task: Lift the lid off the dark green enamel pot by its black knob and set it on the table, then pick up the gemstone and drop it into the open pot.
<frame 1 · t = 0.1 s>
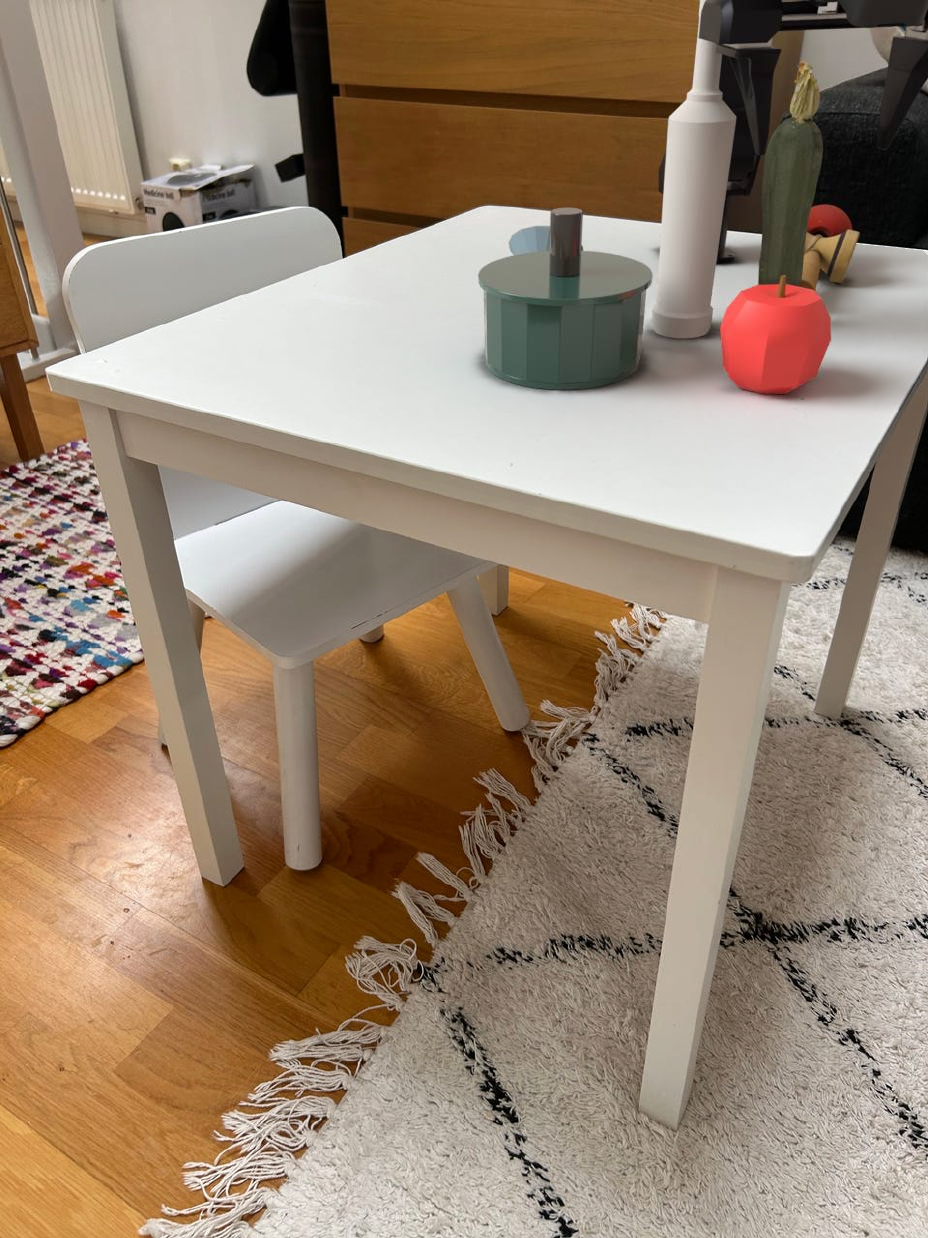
hand: (821, 151, 71), 15 cm above the table, tool pointing down, fingers open, 9 cm apart
gemstone: (545, 278, 98), on the table
lid: (564, 279, 74), point 6 cm above the table, touching pot
pot: (561, 360, 78), on the table
apple: (766, 385, 73), on the table
bottle: (680, 331, 84), on the table
kendama: (808, 286, 93), on the table
vegetable: (767, 327, 84), on the table
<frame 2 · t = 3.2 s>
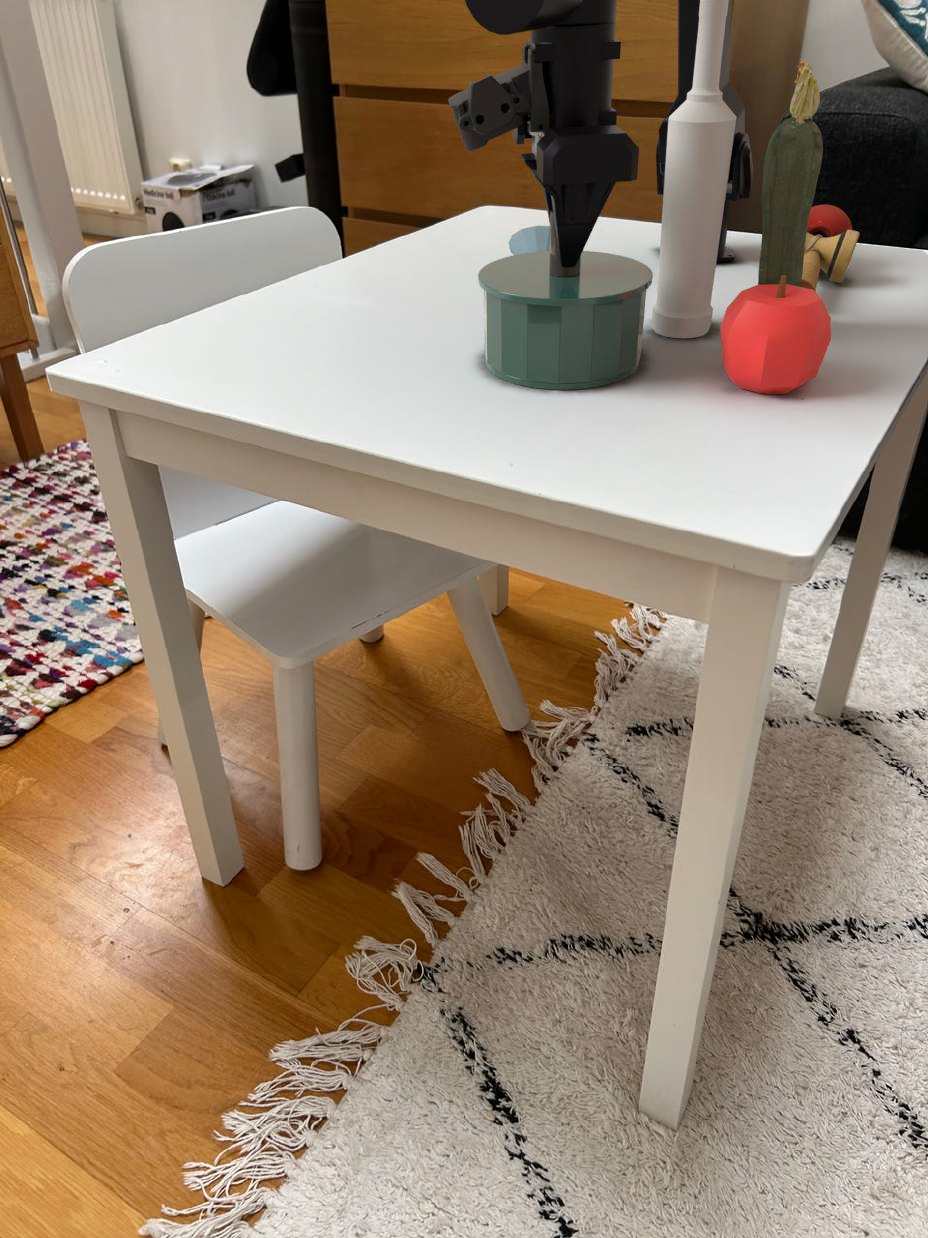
hand: (565, 261, 74), 8 cm above the table, tool pointing down, fingers closed on lid, 2 cm apart
lid: (564, 279, 74), point 7 cm above the table, touching gripper, pot
everything else where it was.
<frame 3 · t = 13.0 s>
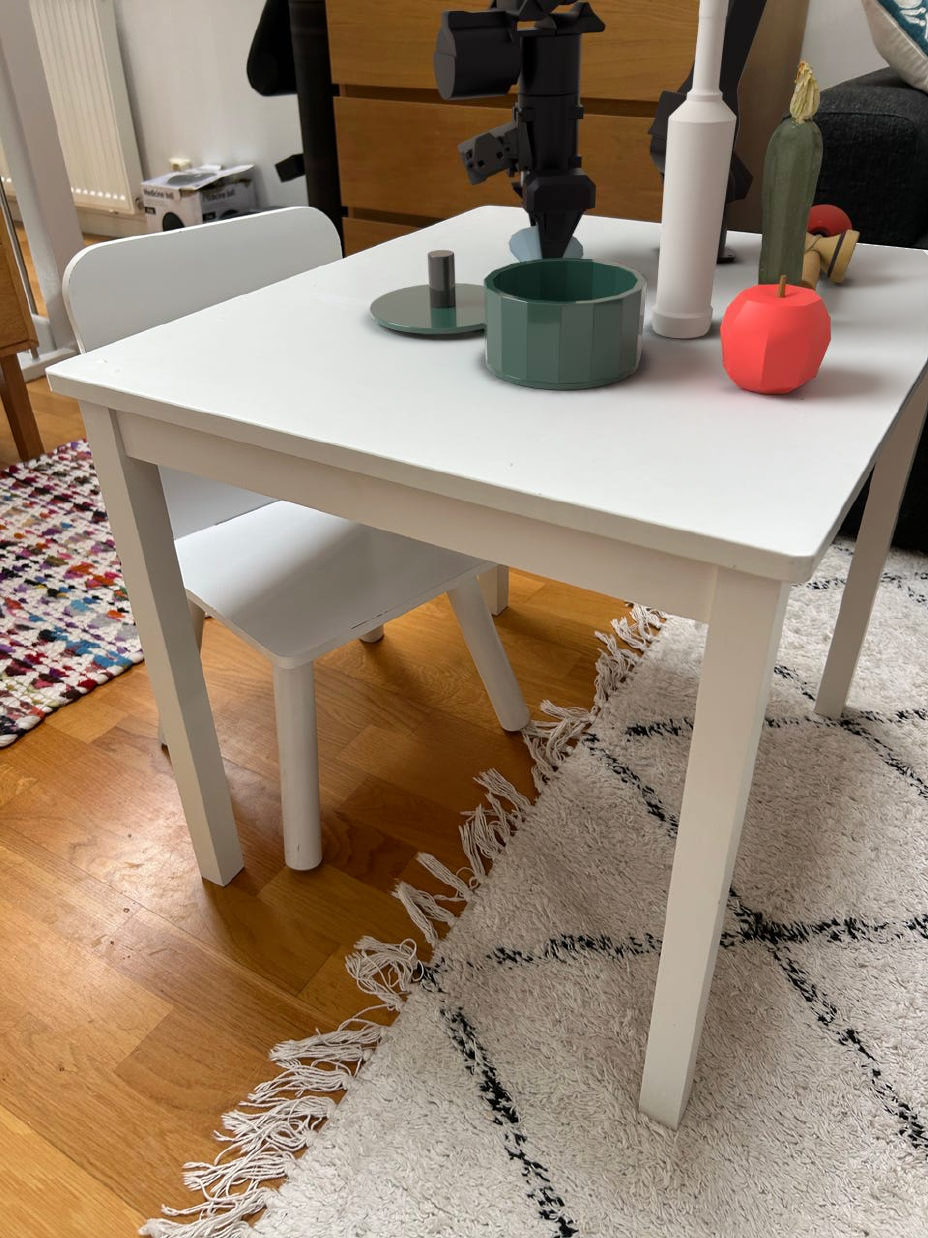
hand: (545, 266, 97), 1 cm above the table, tool pointing down, fingers closed on gemstone, 5 cm apart
gemstone: (545, 278, 98), on the table, touching gripper
lid: (443, 309, 88), point 1 cm above the table
everything else where it was.
when the fingers open (5 cm above the table, at t = 18.5 s): gemstone drops 3 cm, resting on pot.
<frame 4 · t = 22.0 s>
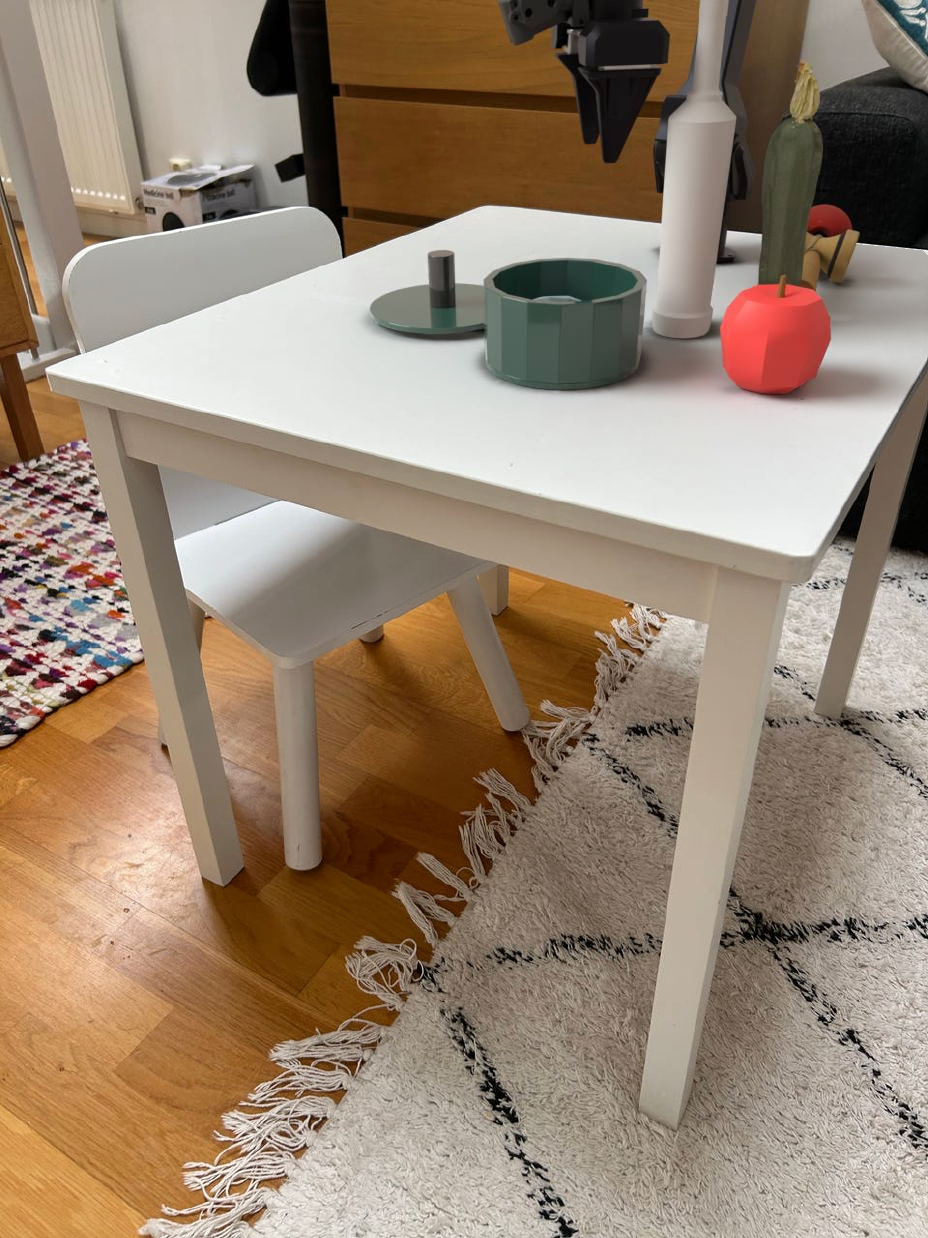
hand: (599, 152, 82), 13 cm above the table, tool pointing down, fingers open, 9 cm apart
gemstone: (562, 358, 78), resting on pot
everything else where it was.
at the end: lid inside the target area (0.0 cm from its centre), point 0.6 cm above the table; gemstone inside the target area in the pot (0.4 cm from its centre), point 0.3 cm above the pot's base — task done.
